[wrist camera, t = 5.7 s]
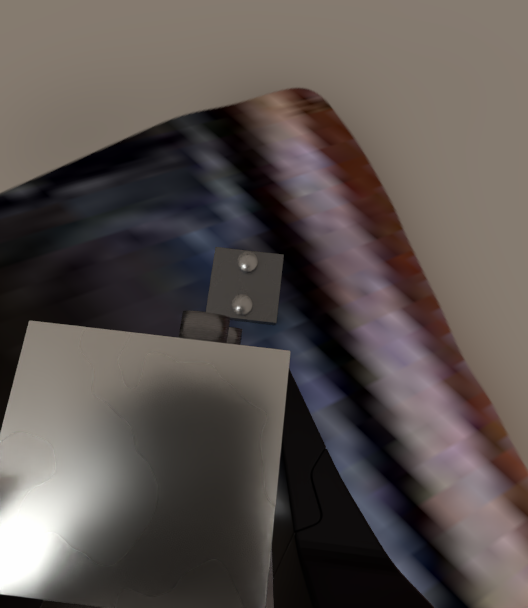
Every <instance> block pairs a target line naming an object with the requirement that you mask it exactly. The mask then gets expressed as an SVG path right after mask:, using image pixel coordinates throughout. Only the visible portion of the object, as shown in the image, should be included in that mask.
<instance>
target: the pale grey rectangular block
mask: <svg viewBox="0 0 528 608" xmlns="http://www.w3.org/2000/svg"><path fill="white" fill-rule="evenodd" d="M229 323H230V317H228V316H225V315H220V314H215V313H208V312H200V311H183V315H182V321H181V327H180V333H179V338H175V337H167V336H158V335H149V334H141V333H132V332H123V331H115V330H106V329H98V328H89V327H80V326H72V325H63V324H54V323H46V322H37V321H29V323H28V327H27V331H26V335H25V339H24V343H23V347H22V351H21V355H20V359H19V362H18V366H17V370H16V374H15V378H14V382H13V386H12V390H11V394H10V398H9V402H8V406H7V409H6V413H5V417H4V421H3V425H2V429H1V433H0V594H4V595H12V596H20V597H28V598H35V599H43V600H51V601H58V602H66V603H74V604H82V605H89V606H97V607H105V608H265V607H266V597H267V587H268V577H269V566H270V556H271V546H272V535H273V525H274V515H275V505H276V494H277V484H278V474H279V464H280V453H281V443H282V433H283V422H284V412H285V402H286V392H287V381H288V371H289V361H290V351H287V350H279V349H270V348H261V347H253V346H244V345H240V343H241V335H242V329H239V328H233V327H229Z"/></svg>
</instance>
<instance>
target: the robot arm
mask: <svg viewBox="0 0 528 608" xmlns="http://www.w3.org/2000/svg"><path fill="white" fill-rule="evenodd" d="M325 448H326V446H325V444H324V442H323V440H322V438H321V435H320V433H319V431H318V429H317V427H316V425H315V423H314V420H313V418H312V416H311V414H310V412H309V410H308V408H307V406H306V403H305V401H304V399H303V397H302V395H301V393H300V391H299V389H298V386H297V384H296V382H295V380H294V378H293V376H292V374H291V371H290V369H289V371H288V381H287V392H286V402H285V412H284V422H283V433H282V443H281V453H280V464H279V474H278V484H277V494H276V505H275V515H274V525H273V535H272V565H273V578H274V579H273V597H274V608H434V607H433V605H432V604H431V603H430V602H429V601H428V600H427V599H426V598H425V597H424V596H423V595H422V594H421V593H420V592H419V591H418V590H417V589H416V588H415V587H414V586H413V585H412V584H411V583H410V582H409V581H408V580H407V579H406V577H405V576H404V575H403V574H402V573H401V572H400V571H399V570H398V568H397V567H396V566H395V565H394V563H393V562H392V561H391V559H390V558H389V556H388V555H387V554H386V552H385V551H384V549H383V547H382V546H381V544H380V543H379V541H378V539H377V538H376V536H375V534H374V533H373V531H372V529H371V528H370V526H369V524H368V523H367V521H366V519H365V518H364V516H363V514H362V513H361V511H360V509H359V508H358V506H357V504H356V503H355V501H354V499H353V498H352V496H351V494H350V493H349V491H348V489H347V487H346V486H345V484H344V482H343V480H342V478H341V477H340V475H339V473H338V471H337V469H336V467H335V465H334V463H333V461H332V459H331V456H330V454H329V452H328V450H327V449H325ZM42 602H43V599H35V598H28V597H20V596H12V595H4V594H0V608H40V606H41V604H42Z"/></svg>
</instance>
